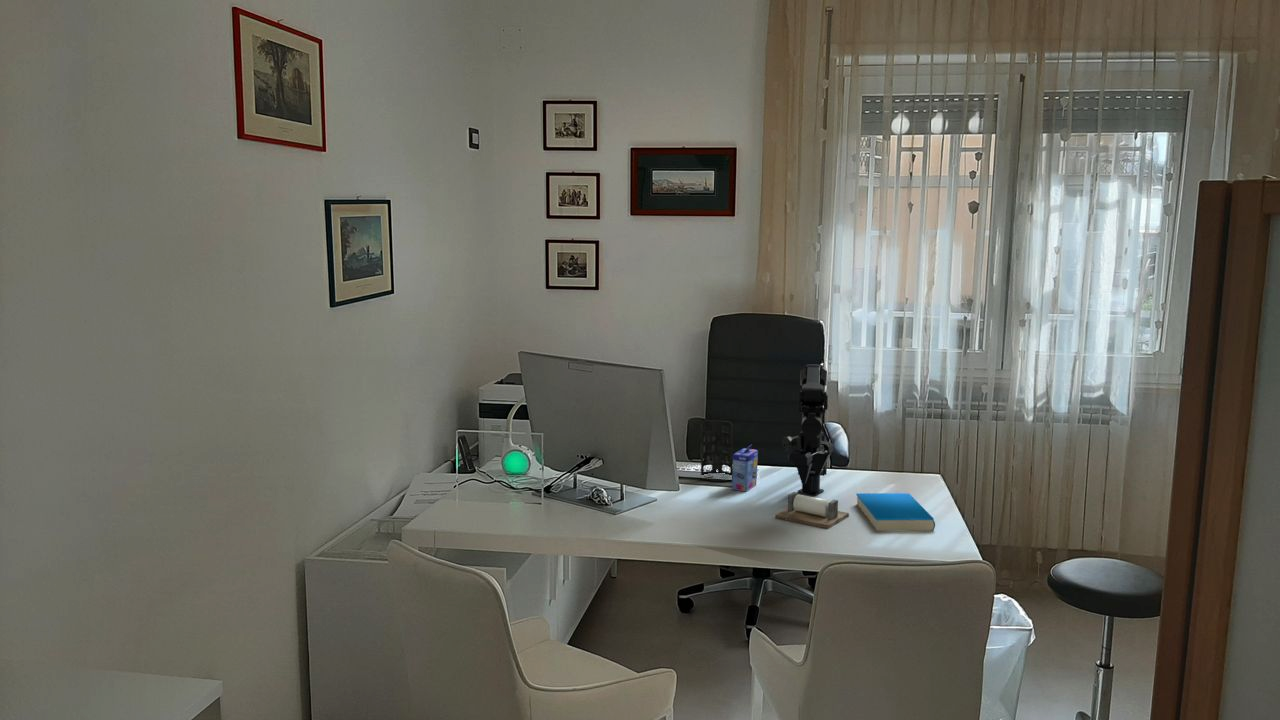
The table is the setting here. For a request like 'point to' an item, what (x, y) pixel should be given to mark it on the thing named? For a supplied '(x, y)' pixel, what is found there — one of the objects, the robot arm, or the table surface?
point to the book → (894, 511)
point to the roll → (811, 505)
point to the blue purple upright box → (744, 469)
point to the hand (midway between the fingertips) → (810, 479)
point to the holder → (716, 447)
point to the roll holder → (811, 519)
